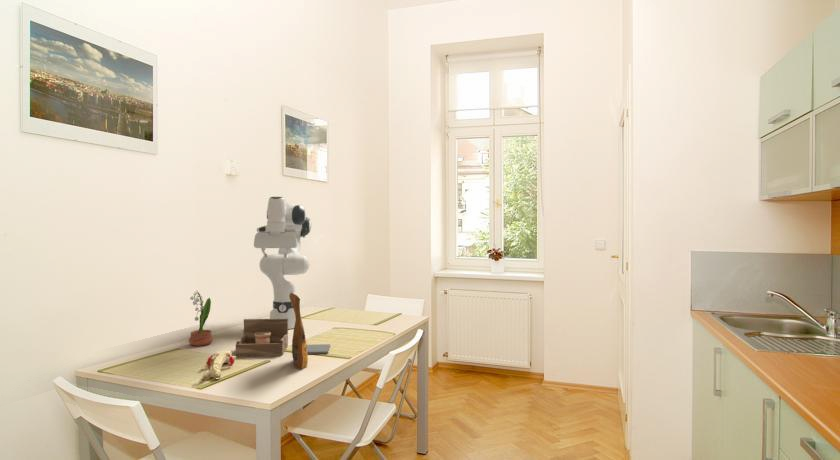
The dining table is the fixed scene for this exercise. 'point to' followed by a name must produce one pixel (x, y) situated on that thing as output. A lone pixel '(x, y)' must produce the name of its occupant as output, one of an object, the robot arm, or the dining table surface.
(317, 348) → the rubber mat
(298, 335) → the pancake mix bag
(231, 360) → the cream toy figurine
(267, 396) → the dining table surface
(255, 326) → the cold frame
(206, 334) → the potted flower
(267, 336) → the terracotta pot
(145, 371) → the dining table surface
